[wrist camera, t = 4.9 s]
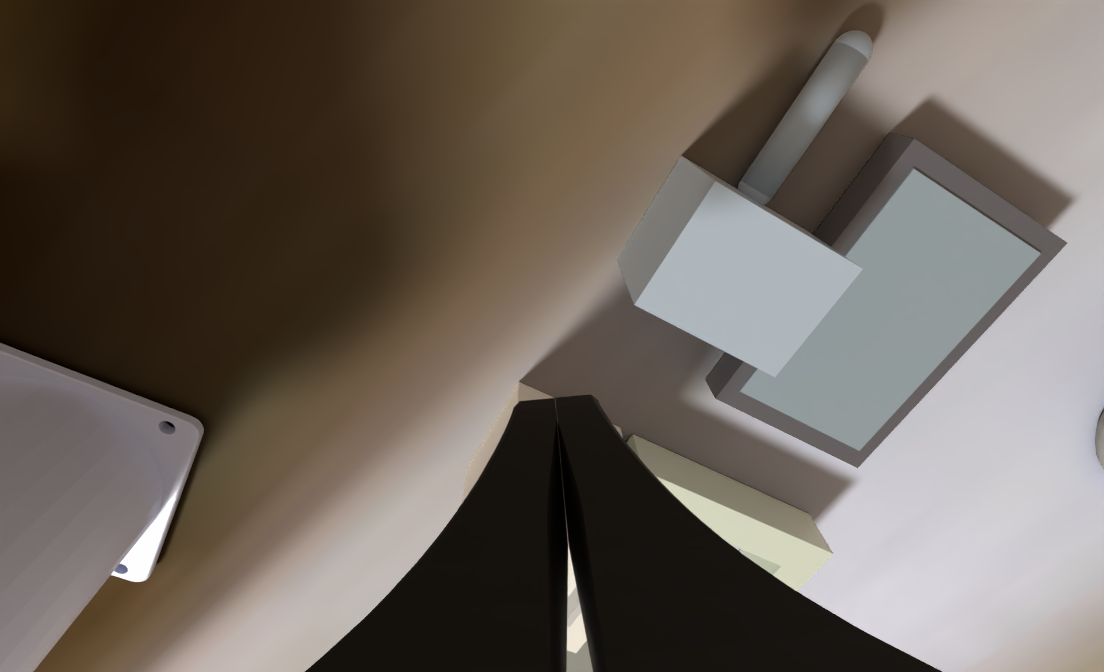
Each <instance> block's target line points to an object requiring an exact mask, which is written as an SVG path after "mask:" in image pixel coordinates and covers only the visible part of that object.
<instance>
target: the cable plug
mask: <svg viewBox="0 0 1104 672" xmlns="http://www.w3.org/2000/svg"><path fill="white" fill-rule="evenodd" d="M872 52H873V44H872V40H871V38H870V37H869V36H868V35H867V34H866V33H865V32H862V31H859V30H852V31H848V32H846V33H844V34H842V35H841V36H839V37H838V38H837V39H836V40H835V42H834V43H833V44H832V46H831V47H830V49H829V50H828V52H827V53H826V55H825V56H824V58H823V59H822V61H821V62H820V64H819V65H818V67H817V68H816V70H815V71H814V73H813V74H812V75H811V77H810V78H809V80H808V81H807V83H806V84H805V86H804V87H803V89H802V90H801V92H800V93H799V95H798V96H797V98H796V99H795V101H794V102H793V104H792V105H791V107H790V108H789V110H788V111H787V113H786V114H785V116H784V117H783V119H782V120H781V121H780V123H779V124H778V126H777V127H776V129H775V130H774V132H773V133H772V135H771V136H770V138H769V139H768V141H767V142H766V144H765V145H764V147H763V148H762V150H761V151H760V153H759V154H758V156H757V157H756V159H755V160H754V162H753V163H752V164H751V166H750V167H749V169H748V170H747V172H746V173H745V175H744V176H743V178H742V179H741V181H740V183H739V185H738V189H736V188H735V187H733V186H731V185H730V184H728V183H726V182H725V181H723V180H721V179H720V178H718V177H716V176H715V175H713V174H711V173H710V172H708V171H706V170H705V169H703V168H701V167H700V166H698V165H696V164H695V163H693V162H691V161H690V160H688V159H686V158H685V157H683V156H681V157H680V158H679V160H678V162H677V163H676V165H675V166H674V168H673V170H672V171H671V173H670V174H669V176H668V178H667V179H666V181H665V183H664V184H663V186H662V187H661V189H660V191H659V192H658V194H657V195H656V197H655V199H654V200H653V202H652V203H651V205H650V207H649V208H648V210H647V212H646V213H645V215H644V216H643V218H642V220H641V221H640V223H639V224H638V226H637V228H636V229H635V231H634V232H633V234H632V236H631V237H630V239H629V240H628V242H627V244H626V245H625V247H624V249H623V250H622V252H621V253H620V255H619V257H618V258H617V262H618V265H619V267H620V270H621V272H622V275H623V278H624V280H625V283H626V285H627V288H628V290H629V293H630V296H631V298H632V301H633V303H634V305H635V306H637V307H639V308H641V309H643V310H645V311H647V312H649V313H651V314H653V315H655V316H657V317H659V318H661V319H663V320H664V321H666V322H668V323H670V324H672V325H674V326H676V327H678V328H680V329H682V330H684V331H686V332H688V333H690V334H692V335H694V336H696V337H698V338H699V339H701V340H703V341H705V342H707V343H709V344H711V345H713V346H715V347H717V348H719V349H721V350H723V351H725V352H727V353H729V354H731V355H732V356H734V357H736V358H738V359H740V360H742V361H744V362H746V363H748V364H750V365H752V366H754V367H756V368H758V369H760V370H762V371H764V372H766V373H767V374H769V375H771V376H773V377H776V376H777V374H778V373H779V372H780V371H781V369H782V368H783V367H784V366H785V364H786V363H787V362H788V361H789V360H790V358H791V357H792V356H793V355H794V353H795V352H796V351H797V350H798V348H799V347H800V346H801V345H802V344H803V342H804V341H805V340H806V339H807V337H808V336H809V335H810V334H811V332H812V331H813V330H814V329H815V328H816V326H817V325H818V324H819V323H820V321H821V320H822V319H823V318H824V316H825V315H826V314H827V313H828V312H829V310H830V309H831V308H832V307H833V305H834V304H835V303H836V302H837V300H838V299H839V298H840V297H841V295H842V294H843V293H844V292H845V291H846V289H847V288H848V287H849V286H850V284H851V283H852V282H853V281H854V279H855V278H856V277H857V276H858V275H859V273H860V272H861V271H862V270H863V268H861V267H860V266H858V265H857V264H855V263H854V262H852V261H851V260H849V259H848V258H846V257H845V256H843V255H842V254H840V253H839V252H837V251H836V250H834V249H833V248H832V247H830V246H829V245H827V244H826V243H824V242H823V241H821V240H820V239H818V238H817V237H815V236H814V235H812V234H811V233H809V232H808V231H806V230H805V229H803V228H802V227H800V226H798V225H797V224H795V223H793V222H792V221H790V220H788V219H787V218H785V217H783V216H782V215H780V214H778V213H777V212H775V211H773V210H772V209H770V208H768V207H766V206H765V205H766V204H767V203H768V202H769V201H770V200H771V199H772V197H773V196H774V195H775V193H776V192H777V190H778V189H779V188H780V186H781V185H782V183H783V182H784V180H785V179H786V178H787V176H788V175H789V173H790V172H791V171H792V169H793V168H794V166H795V165H796V163H797V162H798V161H799V159H800V158H801V156H802V155H803V154H804V152H805V151H806V149H807V148H808V146H809V145H810V144H811V142H812V141H813V139H814V138H815V136H816V135H817V134H818V132H819V131H820V129H821V128H822V127H823V125H824V124H825V122H826V121H827V119H828V118H829V117H830V115H831V114H832V112H833V111H834V110H835V108H836V107H837V105H838V104H839V102H840V101H841V100H842V98H843V97H844V95H845V94H846V93H847V91H848V90H849V88H850V87H851V85H852V84H853V83H854V81H855V80H856V78H857V77H858V76H859V74H860V73H861V71H862V70H863V68H864V67H865V66H866V64H867V63H868V61H869V60H870V58H871V55H872Z"/></svg>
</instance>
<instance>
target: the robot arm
mask: <svg viewBox="0 0 1104 672" xmlns="http://www.w3.org/2000/svg"><path fill="white" fill-rule="evenodd" d="M555 401H556V403H555ZM556 413H557V414H556ZM166 421H169V422H171V423H172V424H173V425H174V426H175V427H171V426H169V425H168V424H167V423H166ZM557 424H558V425H557ZM203 433H204V428H203V425H202V423H201V422H200V421H199V420H198V419H196V418H194V417H193V416H190V415H187V414H185V413H182V412H180V411H177V410H174V409H172V408H169V407H167V406H164V405H161V404H159V403H156V402H153V401H151V400H148V399H146V398H143V397H140V396H138V395H135V394H132V393H130V392H127V391H125V390H122V389H119V388H117V387H114V386H112V385H109V384H106V383H104V382H101V381H98V380H96V379H93V378H91V377H88V376H85V375H83V374H80V373H78V372H75V371H72V370H70V369H67V368H64V367H62V366H59V365H57V364H54V363H51V362H49V361H46V360H43V359H41V358H38V357H36V356H33V355H30V354H28V353H25V352H23V351H20V350H17V349H15V348H12V347H9V346H7V345H4V344H2V343H0V672H33V671H34V670H35V669H36V668H37V666H38V665H39V664H40V663H41V661H42V660H43V659H44V658H45V656H46V655H47V654H48V653H49V651H50V650H51V649H52V648H53V646H54V645H55V644H56V643H57V641H58V640H59V639H60V638H61V636H62V635H63V634H64V633H65V631H66V630H67V629H68V628H69V626H70V625H71V624H72V623H73V621H74V620H75V619H76V618H77V616H78V615H79V614H80V613H81V611H82V610H83V609H84V608H85V606H86V605H87V604H88V603H89V601H90V600H91V599H92V598H93V596H94V595H95V594H96V593H97V591H98V590H99V589H100V588H101V586H102V585H103V584H104V583H105V581H106V580H107V579H108V578H109V576H110V575H114V576H117V577H120V578H124V579H127V580H130V581H134V582H141V581H145V580H147V579H148V577H149V576H150V575H151V573H152V572H153V570H154V568H155V565H156V563H157V560H158V557H159V554H160V552H161V549H162V546H163V543H164V541H165V538H166V535H167V532H168V530H169V527H170V524H171V521H172V519H173V516H174V513H175V510H176V507H177V505H178V502H179V499H180V496H181V494H182V491H183V488H184V485H185V483H186V480H187V477H188V474H189V472H190V469H191V466H192V463H193V461H194V458H195V455H196V452H197V450H198V447H199V444H200V441H201V439H202V436H203ZM558 435H559V436H558ZM559 446H560V447H559ZM560 457H561V458H560ZM561 468H562V469H561ZM562 479H563V480H562ZM563 490H564V491H563ZM564 501H565V502H564ZM565 512H566V513H565ZM566 523H567V525H566ZM567 534H568V536H567ZM568 545H569V550H570V555H571V561H572V566H573V571H574V576H575V581H576V587H577V592H578V597H579V602H580V607H581V613H582V618H583V623H584V628H585V633H586V638H587V643H588V649H589V654H590V659H591V664H592V669H593V672H942V671H940V670H938V669H936V668H934V667H932V666H930V665H928V664H926V663H924V662H922V661H920V660H918V659H916V658H915V657H913V656H911V655H909V654H907V653H905V652H903V651H901V650H899V649H897V648H895V647H893V646H891V645H889V644H887V643H885V642H883V641H881V640H880V639H878V638H876V637H874V636H872V635H870V634H868V633H866V632H864V631H862V630H861V629H859V628H857V627H855V626H853V625H852V624H850V623H848V622H847V621H845V620H843V619H842V618H840V617H838V616H837V615H835V614H833V613H832V612H830V611H828V610H827V609H825V608H823V607H821V606H820V605H818V604H816V603H815V602H813V601H811V600H810V599H808V598H806V597H805V596H803V595H802V594H800V593H799V592H797V591H795V590H794V589H792V588H791V587H789V586H788V585H786V584H785V583H784V582H782V581H781V580H779V579H778V578H776V577H775V576H773V575H772V574H771V573H769V572H768V571H766V570H765V569H763V568H762V567H760V566H759V565H757V564H756V563H755V562H753V561H752V560H750V559H749V558H747V557H746V556H744V555H743V554H742V553H741V552H739V551H738V550H737V549H735V548H734V547H733V546H732V545H730V544H729V543H728V542H726V541H725V540H724V539H723V538H721V537H720V536H719V535H718V534H717V533H715V532H714V531H713V530H712V529H711V528H709V527H708V526H707V525H706V524H705V523H704V522H702V521H701V520H700V519H699V518H698V517H697V516H696V515H694V514H693V513H692V512H691V511H690V510H689V509H688V508H687V507H686V506H685V505H684V504H683V503H682V502H680V501H679V500H678V499H677V498H676V497H675V496H674V495H673V494H672V493H671V492H670V491H669V490H668V489H667V488H666V487H665V486H664V485H663V484H662V483H661V482H660V481H659V480H658V478H657V477H656V476H655V475H654V474H653V473H652V472H651V471H650V470H649V469H648V468H647V466H646V465H645V464H644V463H643V462H642V461H641V459H640V458H639V457H638V456H637V455H636V454H635V452H634V451H633V450H632V449H631V448H630V447H629V445H628V444H627V443H626V442H625V440H624V439H623V438H622V436H621V435H620V434H619V432H618V431H617V430H616V428H615V427H614V426H613V424H612V423H611V421H610V420H609V419H608V417H607V416H606V414H605V413H604V411H603V409H602V408H601V406H600V404H599V402H598V400H597V399H595V398H594V397H593V396H592V395H582V396H570V397H559V398H548V399H537V400H526V401H519V402H518V404H517V405H516V406H515V407H514V408H513V411H512V414H511V417H510V419H509V422H508V424H507V426H506V429H505V431H504V433H503V435H502V437H501V439H500V441H499V443H498V445H497V447H496V449H495V450H494V452H493V454H492V456H491V458H490V459H489V461H488V463H487V465H486V466H485V468H484V470H483V472H482V473H481V475H480V477H479V478H478V480H477V482H476V483H475V485H474V486H473V488H472V489H471V491H470V492H469V494H468V495H467V497H466V498H465V500H464V501H463V503H462V504H461V506H460V507H459V509H458V510H457V512H456V513H455V515H454V516H453V517H452V519H451V520H450V521H449V523H448V524H447V526H446V527H445V528H444V530H443V531H442V532H441V533H440V535H439V536H438V537H437V539H436V540H435V541H434V542H433V544H432V545H431V546H430V547H429V548H428V550H427V551H426V552H425V553H424V555H423V556H422V557H421V558H420V559H419V561H418V562H417V563H416V564H415V565H414V566H413V567H412V568H411V570H410V571H409V572H408V573H407V574H406V575H405V576H404V577H403V578H402V579H401V581H400V582H399V583H398V584H397V585H396V586H395V587H394V588H393V589H392V590H391V592H390V593H389V594H388V595H387V596H386V597H385V598H384V599H383V600H382V601H381V602H380V603H379V604H378V605H377V606H376V607H375V608H374V609H373V610H372V611H371V612H370V613H369V614H368V615H367V616H366V617H365V618H364V619H363V620H362V621H361V622H360V623H359V624H358V625H356V626H355V627H354V628H353V629H352V630H351V631H350V632H349V633H348V634H347V635H346V636H344V637H343V638H342V639H341V640H340V641H339V642H338V643H337V644H336V645H335V646H334V647H332V648H331V649H330V650H329V651H328V652H327V653H326V654H325V655H324V656H323V657H321V658H320V659H319V660H318V661H317V662H316V663H315V664H313V665H312V666H311V667H310V668H309V669H308V670H306V671H305V672H566V669H567V603H568Z"/></svg>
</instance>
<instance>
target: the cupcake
mask: <svg viewBox="0 0 1104 672" xmlns="http://www.w3.org/2000/svg"><path fill="white" fill-rule="evenodd" d="M1095 445H1096V454H1097V457H1098V459H1099V462H1100V464H1101V465H1102V467H1103V469H1104V412H1103V414H1102V415H1101V417H1100V419H1099V422H1098V426H1097V431H1096V437H1095Z"/></svg>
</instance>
